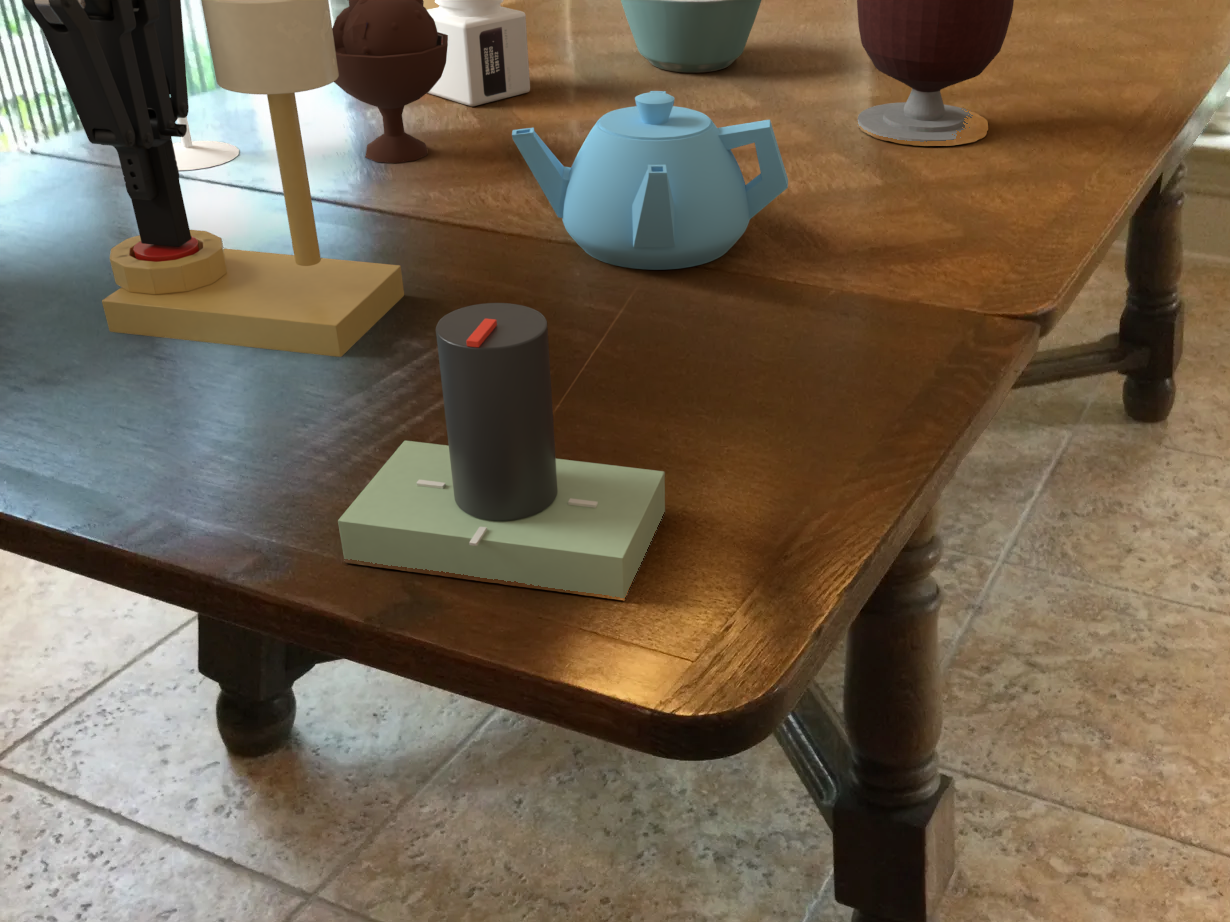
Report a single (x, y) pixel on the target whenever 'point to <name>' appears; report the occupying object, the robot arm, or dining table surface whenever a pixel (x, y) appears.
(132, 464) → the dining table surface
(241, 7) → the lamp
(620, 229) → the teapot
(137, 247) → the lamp switch
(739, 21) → the bowl
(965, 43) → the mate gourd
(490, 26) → the container
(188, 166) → the wineglass
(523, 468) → the dimmer knob
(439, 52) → the ice cream bowl
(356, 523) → the dimmer panel
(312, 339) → the lamp base
